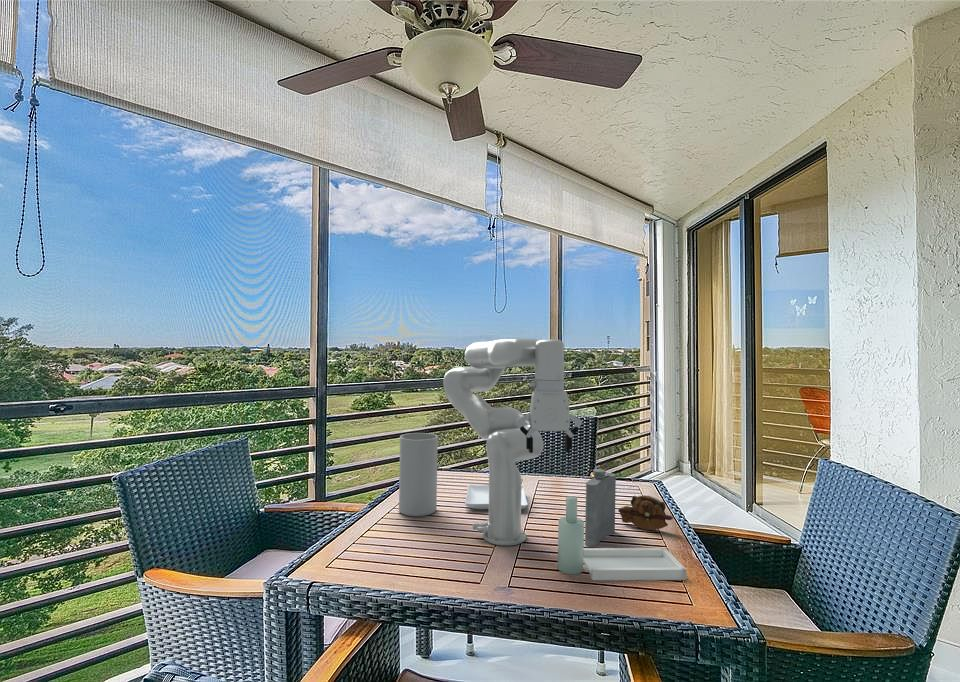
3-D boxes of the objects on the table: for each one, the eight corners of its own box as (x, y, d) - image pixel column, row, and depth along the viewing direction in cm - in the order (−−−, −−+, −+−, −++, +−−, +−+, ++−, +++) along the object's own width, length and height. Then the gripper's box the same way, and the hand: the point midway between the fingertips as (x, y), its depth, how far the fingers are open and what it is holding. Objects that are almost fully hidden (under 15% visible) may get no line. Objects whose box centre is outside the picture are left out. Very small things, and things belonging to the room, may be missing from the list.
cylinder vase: (396, 517, 164) (397, 439, 164) (401, 504, 177) (402, 432, 176) (435, 517, 165) (436, 440, 164) (437, 504, 177) (438, 433, 177)
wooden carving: (616, 526, 159) (617, 494, 159) (619, 522, 164) (620, 490, 164) (672, 536, 152) (673, 503, 152) (674, 531, 156) (674, 498, 156)
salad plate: (528, 514, 170) (528, 504, 170) (464, 512, 170) (464, 502, 170) (523, 494, 191) (524, 485, 191) (467, 493, 192) (467, 484, 192)
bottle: (560, 574, 126) (561, 502, 126) (555, 563, 133) (556, 494, 133) (585, 574, 127) (587, 502, 126) (579, 562, 133) (581, 494, 133)
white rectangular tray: (592, 580, 123) (592, 570, 123) (579, 557, 136) (580, 548, 136) (686, 579, 124) (686, 569, 124) (664, 557, 137) (665, 548, 137)
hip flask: (593, 548, 143) (594, 476, 143) (580, 544, 145) (581, 474, 145) (616, 531, 155) (617, 466, 155) (604, 528, 158) (605, 463, 158)
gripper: (518, 387, 129) (517, 455, 129) (585, 387, 130) (585, 455, 130) (514, 385, 137) (514, 449, 136) (578, 385, 137) (578, 449, 137)
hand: (548, 452), depth 133 cm, fingers open, 9 cm apart
